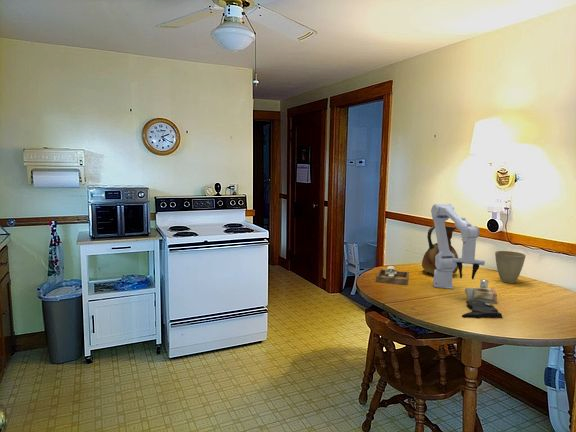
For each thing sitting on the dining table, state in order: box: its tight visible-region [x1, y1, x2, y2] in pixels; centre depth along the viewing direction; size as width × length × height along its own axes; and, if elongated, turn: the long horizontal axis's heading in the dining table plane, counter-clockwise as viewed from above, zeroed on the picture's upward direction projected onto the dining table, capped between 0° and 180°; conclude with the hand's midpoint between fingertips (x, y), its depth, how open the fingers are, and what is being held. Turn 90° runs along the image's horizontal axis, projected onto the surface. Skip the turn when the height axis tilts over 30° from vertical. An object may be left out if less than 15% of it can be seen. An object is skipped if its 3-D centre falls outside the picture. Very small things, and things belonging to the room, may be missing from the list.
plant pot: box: [494, 250, 526, 284], centre depth 223 cm, size 15×15×16 cm
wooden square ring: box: [472, 286, 493, 300], centre depth 193 cm, size 8×8×3 cm
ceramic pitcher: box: [421, 224, 459, 275], centre depth 236 cm, size 20×20×30 cm
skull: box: [384, 265, 398, 278], centre depth 224 cm, size 12×10×10 cm
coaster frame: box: [375, 268, 410, 286], centre depth 224 cm, size 16×16×3 cm
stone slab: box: [461, 300, 503, 319], centre depth 178 cm, size 22×16×5 cm
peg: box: [479, 278, 489, 289], centre depth 201 cm, size 3×3×6 cm
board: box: [464, 287, 498, 304], centre depth 197 cm, size 12×18×4 cm, turn 161°
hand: (466, 278), depth 194 cm, fingers open, 5 cm apart
